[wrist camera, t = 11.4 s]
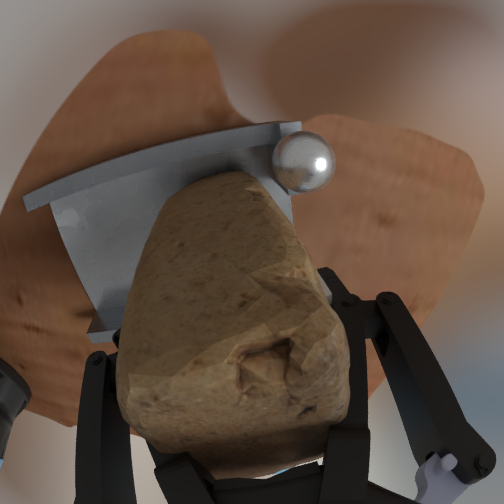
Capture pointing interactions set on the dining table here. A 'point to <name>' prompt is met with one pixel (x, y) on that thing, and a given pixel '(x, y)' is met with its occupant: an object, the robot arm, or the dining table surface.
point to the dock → (159, 190)
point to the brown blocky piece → (231, 335)
